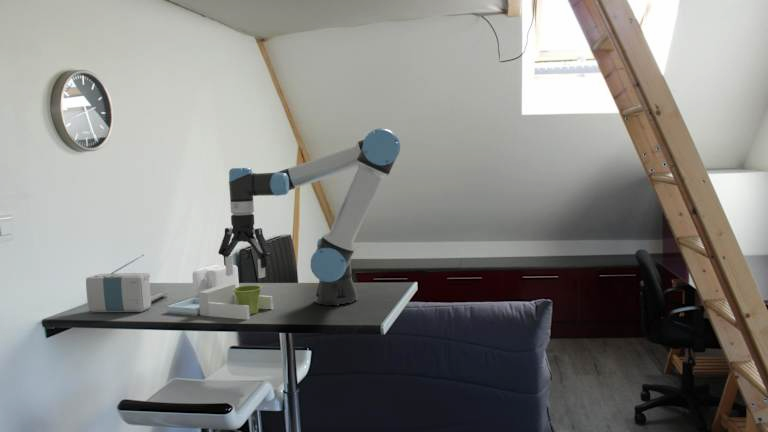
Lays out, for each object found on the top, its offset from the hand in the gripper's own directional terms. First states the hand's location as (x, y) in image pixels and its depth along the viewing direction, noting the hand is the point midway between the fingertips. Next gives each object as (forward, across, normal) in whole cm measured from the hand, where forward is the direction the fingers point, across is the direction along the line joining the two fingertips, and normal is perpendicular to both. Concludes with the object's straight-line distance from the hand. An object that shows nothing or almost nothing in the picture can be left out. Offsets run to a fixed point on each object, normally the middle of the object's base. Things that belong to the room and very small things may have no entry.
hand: (245, 276), depth 199 cm
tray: (+13, -22, -1) cm, 25 cm away
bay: (+13, -4, 0) cm, 14 cm away
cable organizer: (+13, -28, +18) cm, 36 cm away
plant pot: (+13, 0, 0) cm, 13 cm away
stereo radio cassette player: (+14, -48, -10) cm, 51 cm away
